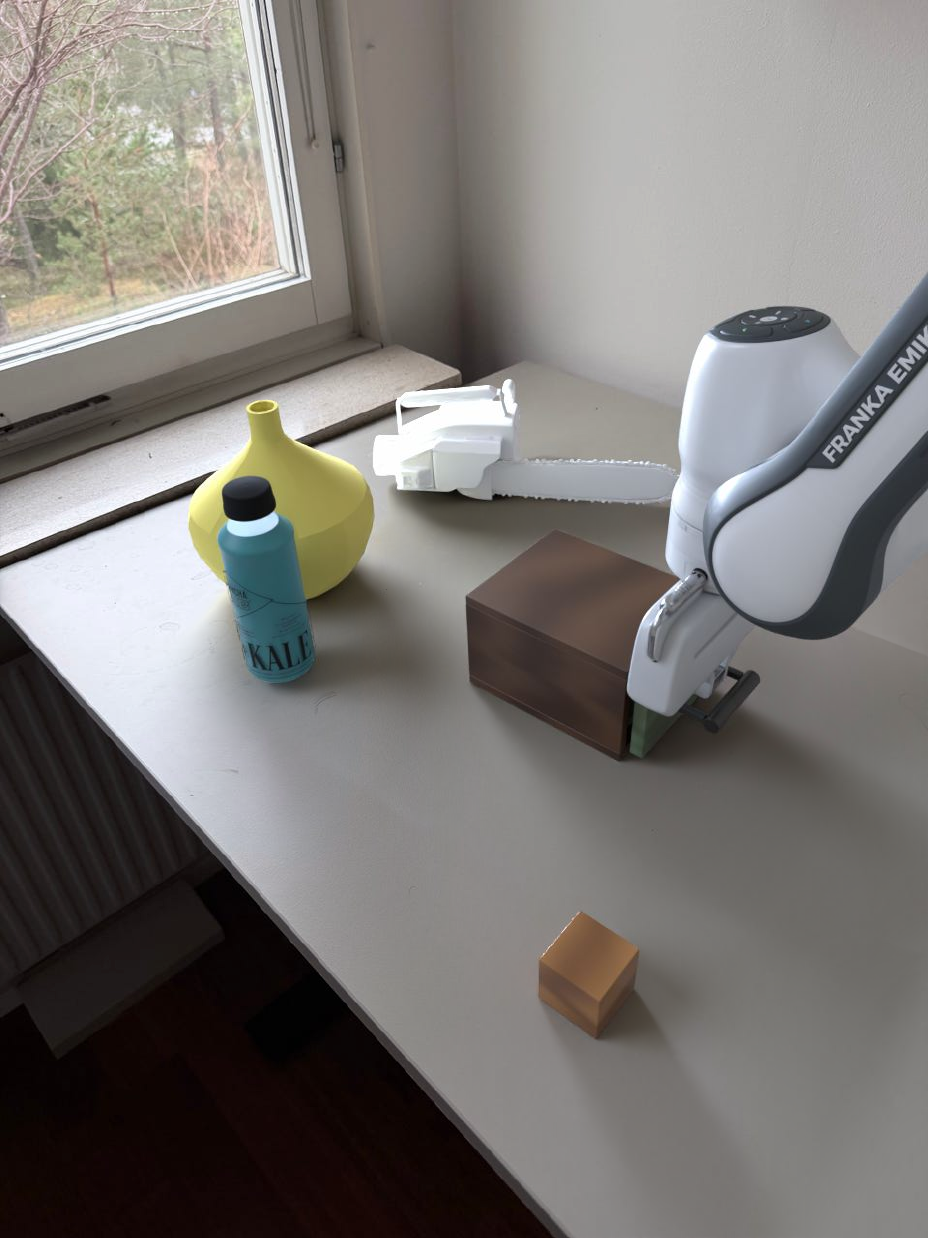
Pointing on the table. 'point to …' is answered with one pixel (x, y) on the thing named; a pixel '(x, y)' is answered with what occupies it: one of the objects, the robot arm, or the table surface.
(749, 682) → the drawer
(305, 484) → the vase
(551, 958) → the block
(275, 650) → the beverage bottle
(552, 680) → the cabinet
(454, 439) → the chainsaw
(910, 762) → the table surface
